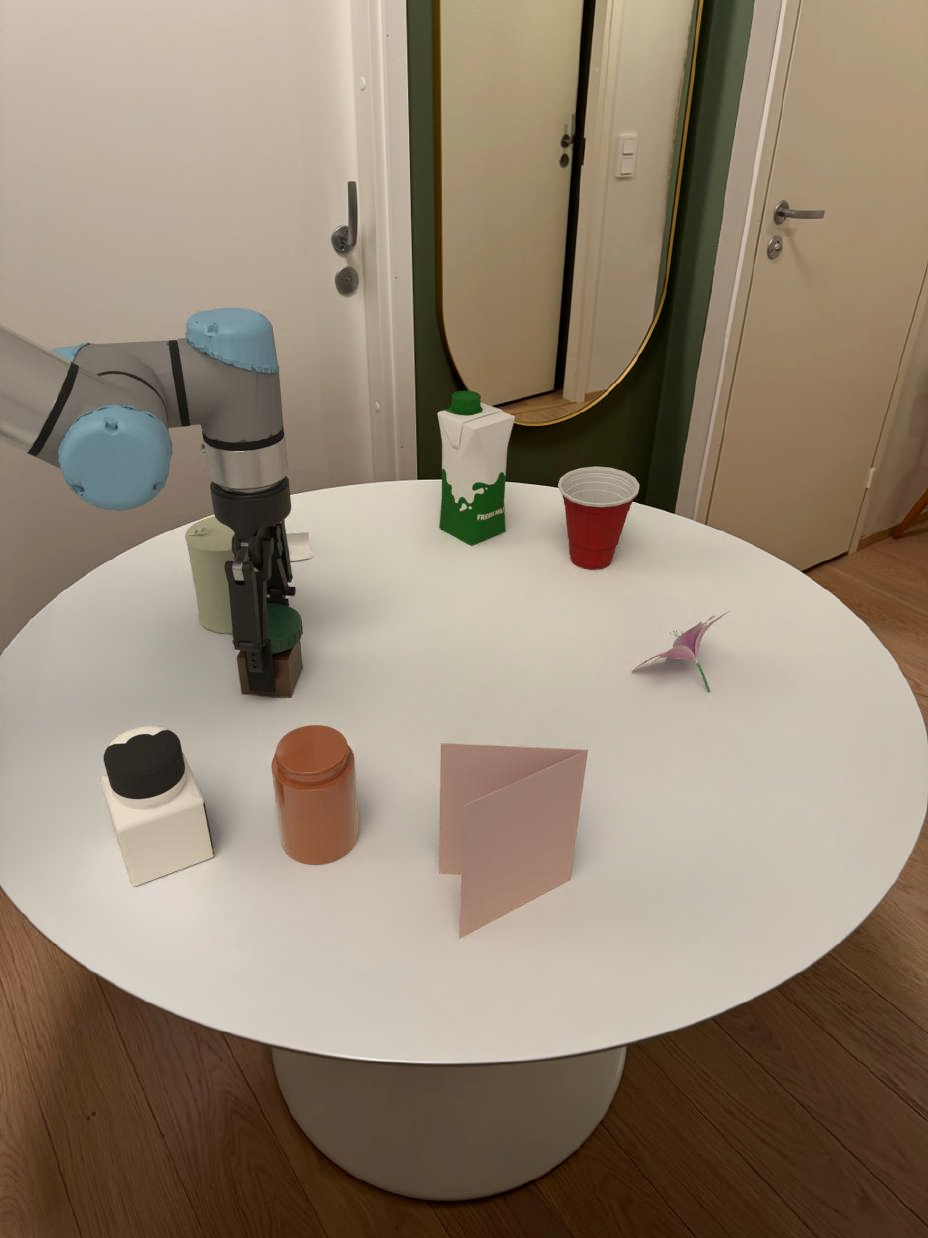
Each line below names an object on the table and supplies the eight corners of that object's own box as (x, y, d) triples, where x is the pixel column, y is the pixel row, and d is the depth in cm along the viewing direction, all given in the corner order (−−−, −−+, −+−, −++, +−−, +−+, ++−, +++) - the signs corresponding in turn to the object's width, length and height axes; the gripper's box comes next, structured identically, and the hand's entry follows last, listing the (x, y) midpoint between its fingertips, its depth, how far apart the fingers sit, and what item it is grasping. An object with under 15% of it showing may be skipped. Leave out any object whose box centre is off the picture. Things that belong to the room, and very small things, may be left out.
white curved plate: (312, 560, 121) (310, 540, 119) (253, 565, 119) (250, 545, 118) (310, 547, 124) (308, 528, 122) (252, 552, 122) (250, 533, 121)
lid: (309, 618, 98) (308, 605, 97) (293, 657, 91) (292, 643, 90) (244, 614, 98) (242, 600, 97) (224, 652, 92) (222, 638, 91)
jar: (272, 862, 77) (259, 773, 71) (291, 804, 82) (281, 718, 77) (351, 868, 76) (345, 779, 70) (364, 809, 82) (360, 723, 76)
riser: (241, 694, 96) (236, 657, 93) (255, 664, 101) (250, 628, 98) (291, 698, 96) (287, 661, 93) (303, 667, 100) (299, 631, 98)
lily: (721, 657, 106) (697, 585, 104) (773, 680, 95) (747, 601, 92) (634, 698, 105) (607, 627, 103) (676, 727, 93) (647, 648, 91)
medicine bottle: (216, 858, 77) (196, 756, 70) (132, 889, 74) (103, 786, 67) (193, 806, 82) (173, 706, 75) (114, 833, 79) (86, 732, 72)
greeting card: (569, 871, 77) (587, 742, 68) (575, 944, 70) (595, 812, 62) (439, 865, 77) (441, 735, 69) (433, 937, 71) (435, 804, 62)
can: (200, 596, 112) (187, 512, 106) (273, 591, 114) (264, 508, 107) (195, 637, 105) (180, 549, 98) (273, 631, 106) (264, 544, 100)
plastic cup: (535, 557, 123) (541, 479, 117) (585, 534, 130) (594, 459, 123) (593, 588, 117) (603, 507, 110) (644, 562, 123) (656, 484, 116)
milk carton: (473, 511, 135) (477, 384, 124) (514, 532, 130) (523, 401, 118) (430, 528, 130) (430, 397, 119) (471, 550, 124) (476, 416, 113)
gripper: (240, 436, 93) (262, 616, 106) (174, 523, 76) (210, 724, 89) (310, 440, 93) (324, 620, 105) (259, 528, 76) (283, 729, 89)
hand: (272, 667), depth 97 cm, fingers closed on lid, 7 cm apart
